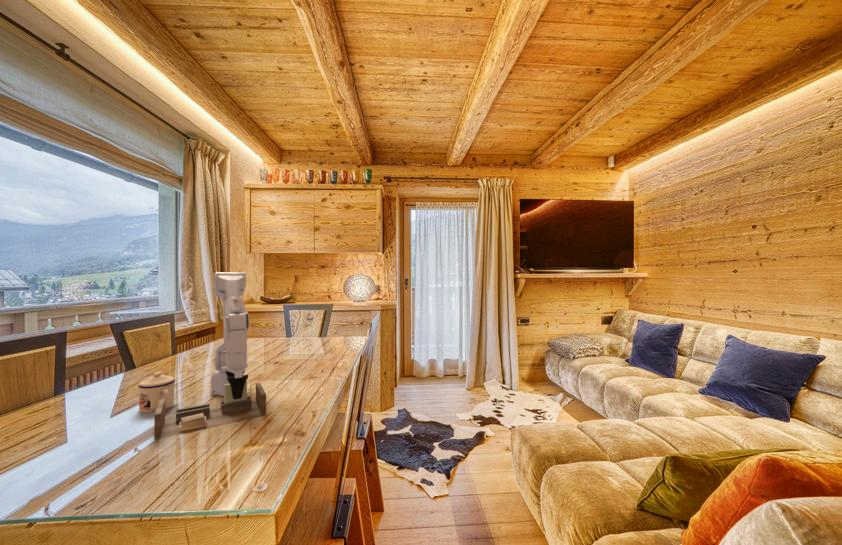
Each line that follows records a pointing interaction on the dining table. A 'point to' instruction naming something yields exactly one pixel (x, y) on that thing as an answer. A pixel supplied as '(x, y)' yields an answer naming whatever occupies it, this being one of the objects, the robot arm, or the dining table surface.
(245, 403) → the rack
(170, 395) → the teacup with lid
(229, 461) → the dining table surface
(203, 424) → the offcut lower
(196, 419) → the offcut upper
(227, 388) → the beige flat block
